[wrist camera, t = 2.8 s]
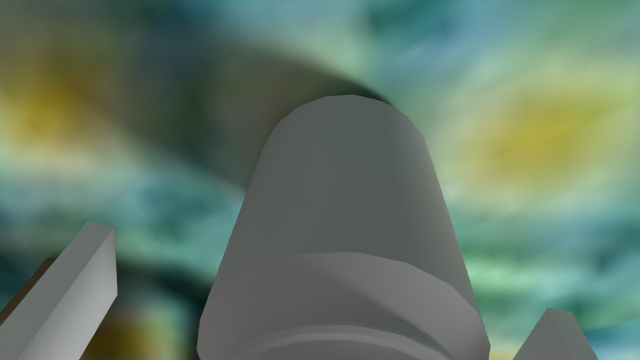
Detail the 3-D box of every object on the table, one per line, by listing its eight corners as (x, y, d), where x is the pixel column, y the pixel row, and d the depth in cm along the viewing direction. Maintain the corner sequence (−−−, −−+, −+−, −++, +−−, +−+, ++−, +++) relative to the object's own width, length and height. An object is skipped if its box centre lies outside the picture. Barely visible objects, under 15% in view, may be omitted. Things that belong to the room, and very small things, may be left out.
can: (413, 237, 22) (466, 519, 12) (263, 224, 22) (190, 492, 12) (444, 93, 18) (564, 332, 8) (262, 79, 18) (151, 296, 8)
